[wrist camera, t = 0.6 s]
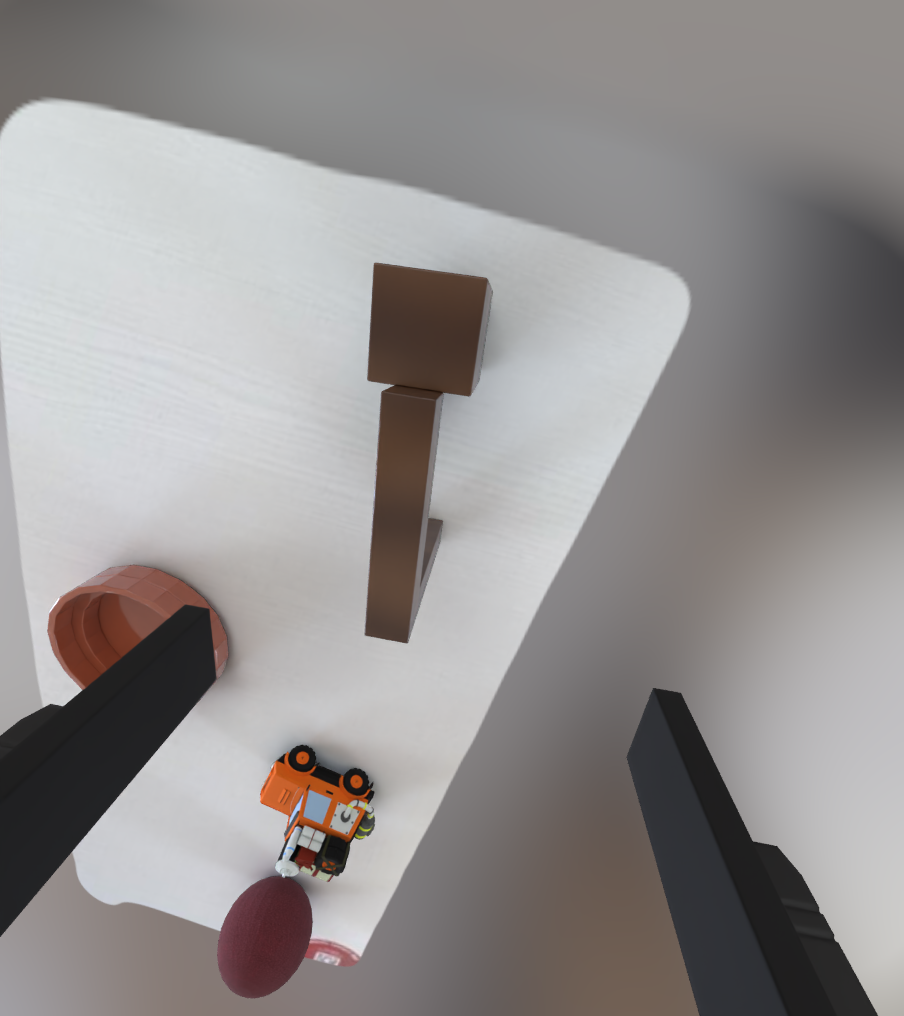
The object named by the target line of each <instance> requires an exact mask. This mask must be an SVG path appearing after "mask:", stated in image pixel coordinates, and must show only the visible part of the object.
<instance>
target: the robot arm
mask: <svg viewBox="0 0 904 1016" xmlns="http://www.w3.org/2000/svg"><path fill="white" fill-rule="evenodd" d="M216 680H217V677H216V668H215V658H214V648H213V638H212V628H211V619H210V609H209V608H204V607H198V606H193V605H187V604H185V605H184V606H182V607H181V608H180V609H179V610H178V611H177V612H175V613H174V614H173V615H172V616H171V617H169V618H168V619H167V620H166V621H165V622H163V623H162V624H161V625H160V626H159V627H157V628H156V629H155V630H154V631H153V632H152V633H150V634H149V635H148V636H147V637H146V638H144V639H143V640H142V641H141V642H140V643H138V644H137V645H136V646H135V647H134V648H132V649H131V650H130V651H129V652H128V653H126V654H125V655H124V656H123V657H122V658H121V659H119V660H118V661H117V662H116V663H115V664H113V665H112V666H111V667H110V668H109V669H107V670H106V671H105V672H104V673H103V674H101V675H100V676H99V677H98V678H97V679H96V680H94V681H93V682H92V683H91V684H90V685H88V686H87V687H86V688H85V689H84V690H82V691H81V692H80V693H79V694H78V695H76V696H75V697H74V698H73V699H72V700H70V701H69V702H68V703H67V704H66V705H65V706H58V705H53V704H50V705H48V706H46V707H44V708H42V709H40V710H38V711H36V712H35V713H33V714H31V715H29V716H27V717H25V718H23V719H21V720H20V721H19V722H17V723H16V724H15V725H13V726H12V727H11V728H10V729H8V730H7V731H6V732H5V733H3V734H2V735H1V736H0V937H1V935H2V934H3V933H4V932H5V931H6V929H7V928H8V927H9V926H10V925H11V924H12V922H13V921H14V920H15V919H16V918H17V916H18V915H19V914H20V913H21V912H22V910H23V909H24V908H25V907H26V906H27V905H28V903H29V902H30V901H31V900H32V899H33V897H34V896H35V895H36V894H37V892H38V891H39V890H40V889H41V888H42V886H43V885H44V884H45V883H46V882H47V881H48V880H49V878H50V877H51V876H52V875H53V874H54V872H55V871H56V870H57V869H58V868H59V866H60V865H61V864H62V863H63V862H64V860H65V859H66V858H67V857H68V856H69V855H70V853H71V852H72V851H73V850H74V849H75V847H76V846H77V845H78V844H79V843H80V841H81V840H82V839H83V838H84V837H85V836H86V834H87V833H88V832H89V831H90V830H91V828H92V827H93V826H94V825H95V824H96V822H97V821H98V820H99V819H100V818H101V817H102V815H103V814H104V813H105V812H106V811H107V809H108V808H109V807H110V806H111V805H112V803H113V802H114V801H115V800H116V799H117V797H118V796H119V795H120V794H121V793H122V792H123V790H124V789H125V788H126V787H127V786H128V784H129V783H130V782H131V781H132V780H133V778H134V777H135V776H136V775H137V774H138V772H139V771H140V770H141V769H142V768H143V767H144V765H145V764H146V763H147V762H148V761H149V759H150V758H151V757H152V756H153V755H154V753H155V752H156V751H157V750H158V749H159V748H160V746H161V745H162V744H163V743H164V742H165V740H166V739H167V738H168V737H169V736H170V734H171V733H172V732H173V731H174V730H175V728H176V727H177V726H178V725H179V724H180V723H181V721H182V720H183V719H184V718H185V717H186V715H187V714H188V713H189V712H190V711H191V709H192V708H193V707H194V706H195V705H196V703H197V702H198V701H199V700H200V699H201V698H202V696H203V695H204V694H205V693H206V692H207V690H208V689H209V688H210V687H211V686H212V684H213V683H214V682H215V681H216ZM627 760H628V764H629V767H630V771H631V774H632V778H633V782H634V785H635V788H636V792H637V796H638V799H639V803H640V806H641V810H642V813H643V817H644V821H645V824H646V828H647V831H648V835H649V838H650V842H651V845H652V849H653V852H654V856H655V859H656V863H657V867H658V870H659V873H660V877H661V881H662V884H663V888H664V891H665V895H666V898H667V902H668V905H669V909H670V913H671V916H672V920H673V923H674V927H675V930H676V934H677V937H678V941H679V944H680V948H681V952H682V955H683V959H684V962H685V966H686V969H687V973H688V976H689V980H690V983H691V987H692V991H693V994H694V998H695V1001H696V1005H697V1008H698V1012H699V1015H700V1016H878V1015H877V1013H876V1011H875V1009H874V1007H873V1006H872V1004H871V1002H870V1000H869V998H868V996H867V995H866V993H865V991H864V989H863V987H862V986H861V983H860V982H859V980H858V978H857V976H856V974H855V973H854V971H853V969H852V967H851V965H850V963H849V961H848V960H847V958H846V956H845V954H844V953H843V950H842V949H841V947H840V945H839V943H838V942H836V941H835V939H834V934H833V932H832V930H831V928H830V927H829V925H828V923H827V921H826V919H825V917H824V915H823V914H821V913H820V912H819V907H818V904H817V903H816V901H815V899H814V897H813V896H812V893H811V892H810V890H809V888H808V886H807V884H806V883H805V881H804V879H803V877H802V875H801V874H800V873H799V872H798V870H797V869H796V868H795V867H794V866H793V865H792V863H791V862H790V861H789V860H788V859H787V857H786V856H785V855H784V854H783V853H782V852H781V850H780V849H779V848H778V847H777V846H773V845H769V844H763V843H758V842H753V841H752V839H751V837H750V835H749V833H748V831H747V829H746V827H745V825H744V822H743V821H742V818H741V816H740V814H739V812H738V810H737V808H736V806H735V804H734V802H733V800H732V798H731V796H730V794H729V791H728V789H727V787H726V785H725V783H724V781H723V779H722V777H721V775H720V773H719V771H718V769H717V767H716V765H715V763H714V761H713V758H712V756H711V754H710V752H709V750H708V748H707V746H706V744H705V742H704V740H703V738H702V736H701V734H700V732H699V730H698V727H697V725H696V723H695V721H694V719H693V717H692V715H691V713H690V711H689V709H688V707H687V705H686V703H685V701H684V698H683V696H682V694H681V693H678V692H673V691H667V690H661V689H656V688H653V690H652V692H651V695H650V697H649V701H648V703H647V705H646V708H645V710H644V713H643V716H642V718H641V721H640V724H639V726H638V729H637V731H636V734H635V737H634V739H633V742H632V744H631V747H630V749H629V752H628V755H627Z"/></svg>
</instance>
